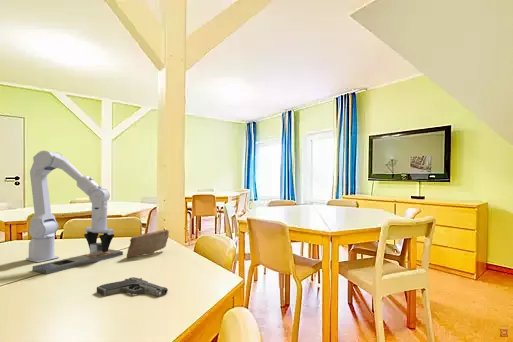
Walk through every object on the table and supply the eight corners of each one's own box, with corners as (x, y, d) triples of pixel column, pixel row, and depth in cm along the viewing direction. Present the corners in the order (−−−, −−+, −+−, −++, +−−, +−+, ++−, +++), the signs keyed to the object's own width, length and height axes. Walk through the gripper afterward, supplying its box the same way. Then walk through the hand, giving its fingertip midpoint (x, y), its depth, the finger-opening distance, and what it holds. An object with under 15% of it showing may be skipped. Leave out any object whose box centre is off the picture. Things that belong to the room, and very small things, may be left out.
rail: (32, 270, 105) (32, 265, 105) (109, 252, 131) (109, 248, 131) (45, 274, 101) (46, 269, 101) (122, 254, 127) (122, 250, 127)
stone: (124, 258, 123) (128, 261, 120) (125, 236, 122) (129, 238, 119) (165, 247, 136) (169, 250, 134) (166, 227, 135) (170, 230, 132)
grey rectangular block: (89, 259, 121) (89, 243, 121) (98, 256, 124) (98, 241, 124) (96, 260, 119) (96, 244, 119) (105, 257, 123) (105, 242, 123)
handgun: (129, 300, 74) (169, 285, 84) (96, 285, 84) (135, 274, 94) (129, 310, 74) (169, 294, 84) (96, 294, 84) (135, 282, 94)
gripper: (78, 218, 122) (78, 251, 122) (102, 220, 116) (102, 254, 115) (94, 216, 128) (93, 247, 128) (117, 218, 122) (117, 250, 122)
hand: (98, 250), depth 122 cm, fingers open, 7 cm apart
